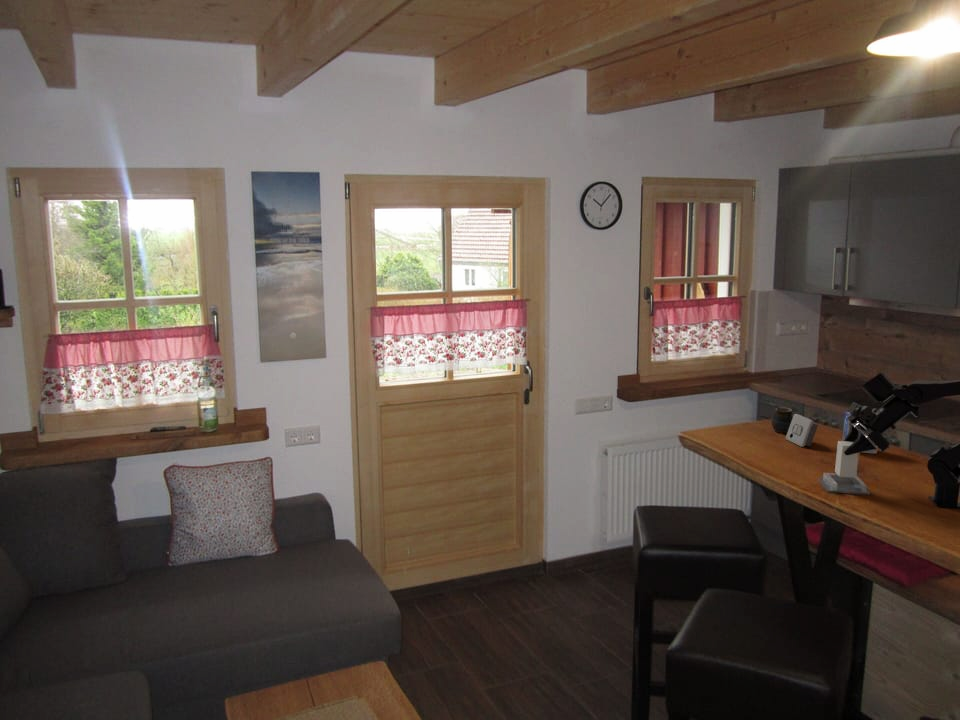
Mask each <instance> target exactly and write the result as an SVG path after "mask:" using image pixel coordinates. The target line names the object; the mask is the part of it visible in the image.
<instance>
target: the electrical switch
mask: <svg viewBox="0 0 960 720" xmlns="http://www.w3.org/2000/svg"><path fill="white" fill-rule="evenodd" d="M792 418H793V419H792V422H791V424H790V427H789V430H788V433H786V436H785V440H787V441H788V442H790V443H793V444H795V445H797V446H799V447H801V448H805V446H806V447H811V446H812V443H813V441H814V438H815V435H816V432H817V430H818V427H819V424H817V423H816V422H814V420H812V419H810V418H808V417H806V416H803V415H800V414H797V413H794V414H793V416H792Z"/></svg>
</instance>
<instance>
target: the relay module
mask: <svg viewBox="0 0 960 720" xmlns="http://www.w3.org/2000/svg"><path fill="white" fill-rule="evenodd" d="M852 443H853V442H850V441H843V440H838V441H837V446H836V447H837V448H836V458H835V467H834V472H835V473H837V474H838V476H839V477H855V478H856V475H857V473H858V464H859V459H860V457H861V452H859V453H855V454H851V455H845V454H844V452H845V451H846V450H847V448H848V447H849V446H850V445H851V444H852ZM857 476H858V475H857Z"/></svg>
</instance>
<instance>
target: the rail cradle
mask: <svg viewBox="0 0 960 720" xmlns="http://www.w3.org/2000/svg"><path fill="white" fill-rule="evenodd" d="M817 481H818V482H819V483H820V484H821V486H822V487H823V488H824V489H825V490H826V493H830V494H831V493H834V494H847V495H848V494H849V495H850V494H851V495H862V496H864V495H865V496H866V495H867V496H870V495H871V492H870V491H869V490H868V488H867V484H865V482H863V479H861V478H860V477H859V476H858V475H856V478H855V477H839V476H838V474H837V473H836V472H835V473H833V472H823V473H822V478H820V477H819V478H817Z"/></svg>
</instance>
